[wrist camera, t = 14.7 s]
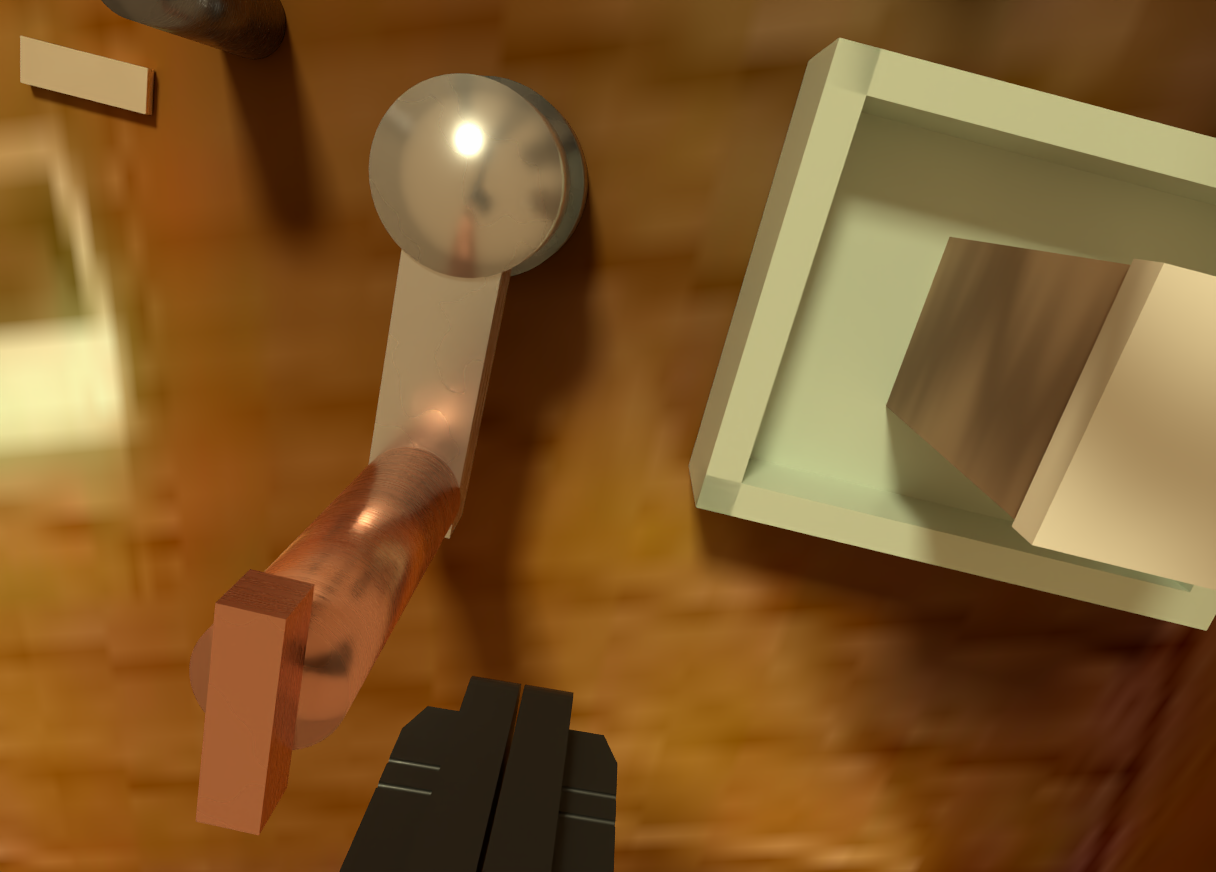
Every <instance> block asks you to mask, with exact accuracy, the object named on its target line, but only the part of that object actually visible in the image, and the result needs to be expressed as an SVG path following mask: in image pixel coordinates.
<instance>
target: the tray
mask: <svg viewBox="0 0 1216 872" xmlns="http://www.w3.org/2000/svg"><path fill="white" fill-rule="evenodd" d="M949 237H955V238H962V239H968V240H974V241H981V242H987V243H994V244H1000V245H1007V246H1013V247H1019V248H1026V249H1032V250H1039V251H1045V252H1051V253H1058V254H1064V255H1071V256H1077V257H1084V258H1090V259H1096V260H1103V261H1109V262H1116V263H1122V264H1128V265H1131V263H1132V261H1133V259H1140V260H1147V261H1154V262H1162V263H1167V264H1170V265H1174V266H1178V267H1182V268H1186V269H1189V270H1193V271H1197V272H1201V273H1205V274H1208V275H1212V276H1216V138H1213V137H1209V136H1205V135H1202V134H1198V133H1194V132H1191V131H1187V130H1183V129H1179V128H1176V127H1172V126H1168V125H1164V124H1161V123H1157V122H1153V121H1149V120H1146V119H1142V118H1138V117H1134V116H1131V115H1127V114H1123V113H1119V112H1116V111H1112V110H1108V109H1104V108H1101V107H1097V106H1093V105H1089V104H1086V103H1082V102H1078V101H1074V100H1071V99H1067V98H1063V97H1060V96H1056V95H1052V94H1048V93H1045V92H1041V91H1037V90H1033V89H1030V88H1026V87H1022V86H1018V85H1015V84H1011V83H1007V82H1003V81H1000V80H996V79H992V78H988V77H985V76H981V75H977V74H973V73H970V72H966V71H962V70H958V69H955V68H951V67H947V66H944V65H940V64H936V63H932V62H929V61H925V60H921V59H917V58H914V57H910V56H906V55H902V54H899V53H895V52H891V51H887V50H884V49H880V48H876V47H872V46H869V45H865V44H861V43H857V42H854V41H850V40H846V39H842V38H838V39H837V40H836V41H834V42H833V43H832V44H830V45H829V46H828V47H826V48H825V49H824V50H822V51H821V52H820V53H818V54H817V55H816V56H814V57H813V58H812V59H810V60H809V61H808V65H807V68H806V72H805V75H804V78H803V82H802V85H801V88H800V92H799V95H798V99H797V102H796V105H795V109H794V112H793V115H792V119H791V122H790V126H789V129H788V132H787V136H786V139H785V142H784V146H783V149H782V153H781V156H780V159H779V163H778V166H777V169H776V173H775V176H774V180H773V183H772V186H771V190H770V193H769V196H768V200H767V203H766V207H765V210H764V213H763V217H762V220H761V223H760V227H759V230H758V234H757V237H756V240H755V244H754V247H753V250H752V254H751V257H750V260H749V264H748V267H747V271H746V274H745V277H744V281H743V284H742V287H741V291H740V294H739V298H738V301H737V304H736V308H735V311H734V314H733V318H732V321H731V325H730V328H729V331H728V335H727V338H726V341H725V345H724V348H723V352H722V355H721V358H720V362H719V365H718V368H717V372H716V375H715V379H714V382H713V385H712V389H711V392H710V395H709V399H708V402H707V406H706V409H705V412H704V416H703V419H702V422H701V426H700V429H699V433H698V436H697V439H696V443H695V446H694V449H693V453H692V456H691V460H690V463H689V471H690V477H691V482H692V488H693V494H694V499H695V505H696V508H701V509H705V510H709V511H713V512H717V513H721V514H725V515H730V516H734V517H738V518H742V519H746V520H750V521H754V522H758V523H763V524H767V525H771V526H775V527H779V528H783V529H787V530H792V531H796V532H800V533H804V534H808V535H812V536H816V537H821V538H825V539H829V540H833V541H837V542H841V543H845V544H850V545H854V546H858V547H862V548H866V549H870V550H874V551H879V552H883V553H887V554H891V555H895V556H899V557H903V558H908V559H912V560H916V561H920V562H924V563H928V564H932V565H937V566H941V567H945V568H949V569H953V570H957V571H961V572H966V573H970V574H974V575H978V576H982V577H986V578H990V579H995V580H999V581H1003V582H1007V583H1011V584H1015V585H1019V586H1023V587H1028V588H1032V589H1036V590H1040V591H1044V592H1048V593H1052V594H1057V595H1061V596H1065V597H1069V598H1073V599H1077V600H1081V601H1086V602H1090V603H1094V604H1098V605H1102V606H1106V607H1110V608H1115V609H1119V610H1123V611H1127V612H1131V613H1135V614H1139V615H1144V616H1148V617H1152V618H1156V619H1160V620H1164V621H1168V622H1173V623H1177V624H1181V625H1185V626H1189V627H1193V628H1197V629H1202V630H1206V631H1207V629H1208V627H1209V625H1210V624H1211V622H1212V620H1213V618H1214V617H1215V615H1216V590H1213V589H1209V588H1205V587H1201V586H1197V585H1192V584H1188V583H1184V582H1180V581H1176V580H1172V579H1168V578H1164V577H1160V576H1156V575H1152V574H1148V573H1144V572H1140V571H1136V570H1132V569H1127V568H1123V567H1119V566H1115V565H1111V564H1107V563H1103V562H1099V561H1095V560H1091V559H1087V558H1083V557H1079V556H1075V555H1071V554H1066V553H1062V552H1058V551H1054V550H1050V549H1046V548H1042V547H1038V546H1034V545H1031V544H1030V543H1029V542H1028V541H1027V540H1026V539H1025V538H1024V537H1023V536H1021V535H1020V534H1019V533H1018V532H1017V531H1016V530H1015V529H1014V528H1013V527H1012V524H1013V522H1014V519H1013V518H1012V517H1011V516H1010V515H1009V514H1008V513H1007V512H1005V511H1004V510H1003V509H1002V508H1001V507H1000V506H999V505H997V504H996V503H995V502H994V501H993V500H992V499H991V498H990V497H988V496H987V495H986V494H985V493H984V492H983V491H982V490H980V489H979V488H978V487H977V486H976V485H975V484H974V483H973V482H971V481H970V480H969V479H968V478H967V477H966V476H965V475H963V474H962V473H961V472H960V471H959V470H958V469H957V468H956V467H954V466H953V465H952V464H951V463H950V462H949V461H948V460H947V459H945V458H944V457H943V456H942V455H941V454H940V453H939V452H937V451H936V450H935V449H934V448H933V447H932V446H931V445H930V444H928V443H927V442H926V441H925V440H924V439H923V438H922V437H920V436H919V435H918V434H917V433H916V432H915V431H914V430H913V429H911V428H910V427H909V426H908V425H907V424H906V423H905V422H903V421H902V420H901V419H900V418H899V417H898V416H897V415H896V414H894V413H893V412H892V411H891V410H890V409H889V408H888V407H886V404H887V401H888V399H889V396H890V393H891V391H892V388H893V385H894V383H895V380H896V377H897V375H898V372H899V370H900V367H901V364H902V362H903V359H904V356H905V354H906V351H907V348H908V346H909V343H910V340H911V338H912V335H913V332H914V330H915V327H916V324H917V322H918V319H919V316H920V314H921V311H922V308H923V306H924V303H925V301H926V298H927V295H928V293H929V290H930V287H931V285H932V282H933V279H934V277H935V274H936V271H937V269H938V266H939V263H940V261H941V258H942V255H943V253H944V250H945V247H946V245H947V242H948V240H949Z"/></svg>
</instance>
